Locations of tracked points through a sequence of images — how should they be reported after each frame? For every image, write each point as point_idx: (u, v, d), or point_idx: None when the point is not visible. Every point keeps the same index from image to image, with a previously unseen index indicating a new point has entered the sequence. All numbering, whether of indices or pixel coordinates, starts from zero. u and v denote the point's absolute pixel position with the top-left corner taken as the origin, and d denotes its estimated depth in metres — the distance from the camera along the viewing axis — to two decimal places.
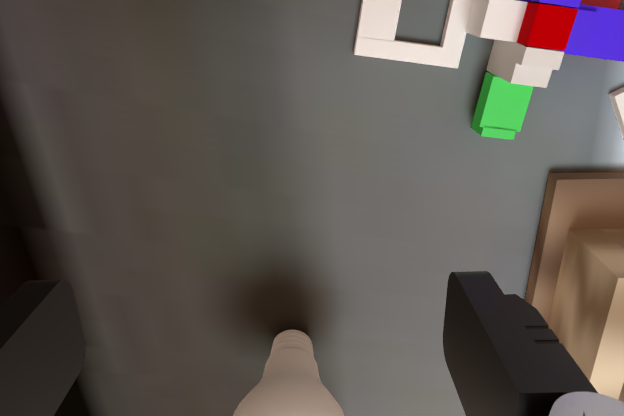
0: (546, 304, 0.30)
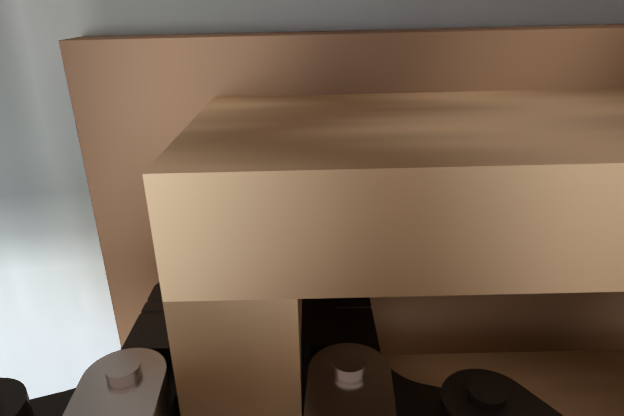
0: None
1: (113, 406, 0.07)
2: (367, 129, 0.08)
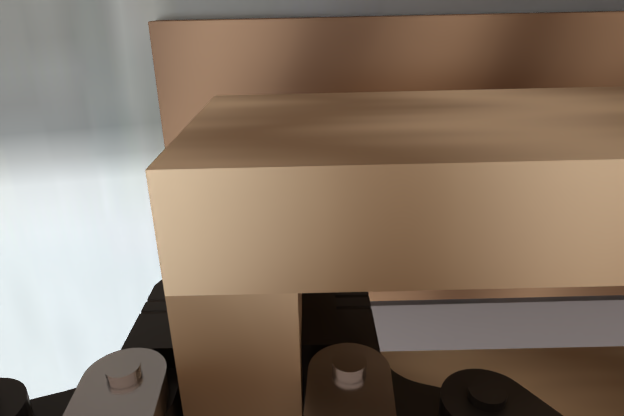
0: None
1: (113, 406, 0.07)
2: (366, 127, 0.08)
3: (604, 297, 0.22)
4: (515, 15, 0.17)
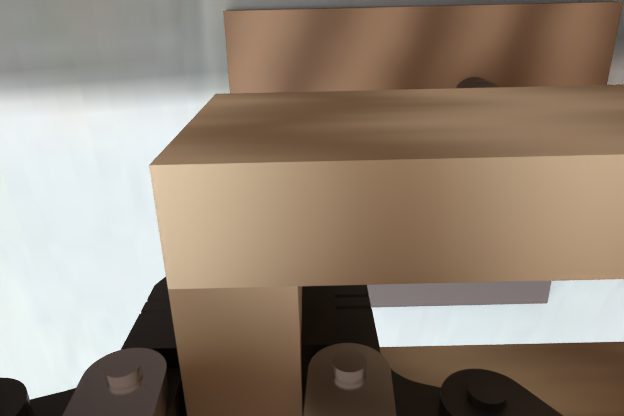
0: (487, 20, 0.31)
1: (113, 406, 0.07)
2: (365, 123, 0.08)
3: None
4: (425, 7, 0.30)
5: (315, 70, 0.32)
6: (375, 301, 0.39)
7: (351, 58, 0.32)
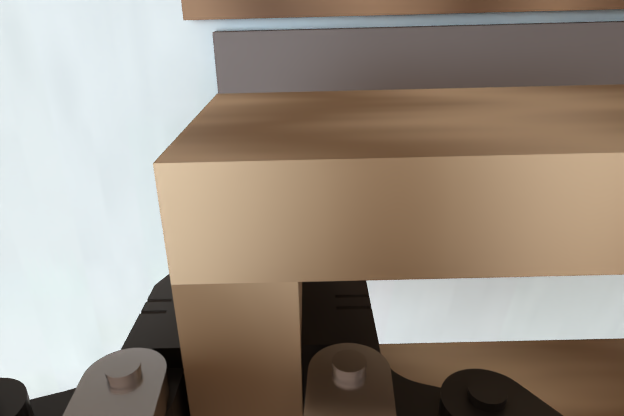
0: None
1: (112, 405, 0.07)
2: (363, 122, 0.08)
3: None
4: None
5: None
6: None
7: None
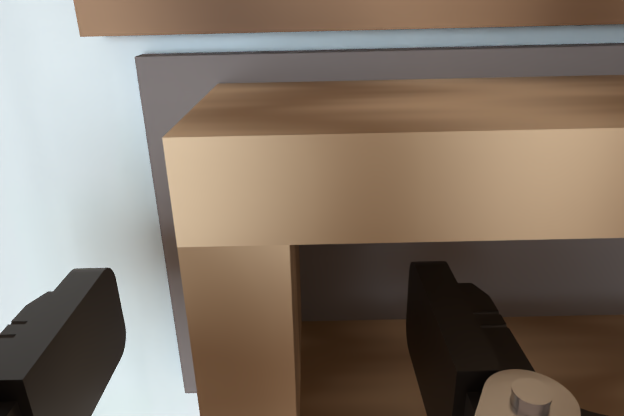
0: None
1: None
2: (349, 107, 0.09)
3: None
4: None
5: None
6: None
7: None
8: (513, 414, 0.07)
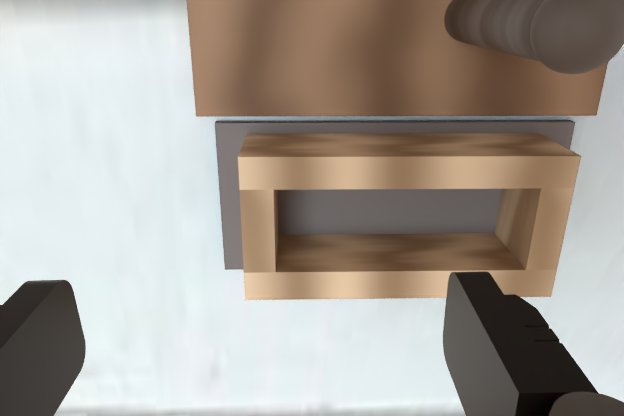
0: None
1: None
2: (294, 147, 0.28)
3: (489, 121, 0.31)
4: None
5: None
6: None
7: None
8: None
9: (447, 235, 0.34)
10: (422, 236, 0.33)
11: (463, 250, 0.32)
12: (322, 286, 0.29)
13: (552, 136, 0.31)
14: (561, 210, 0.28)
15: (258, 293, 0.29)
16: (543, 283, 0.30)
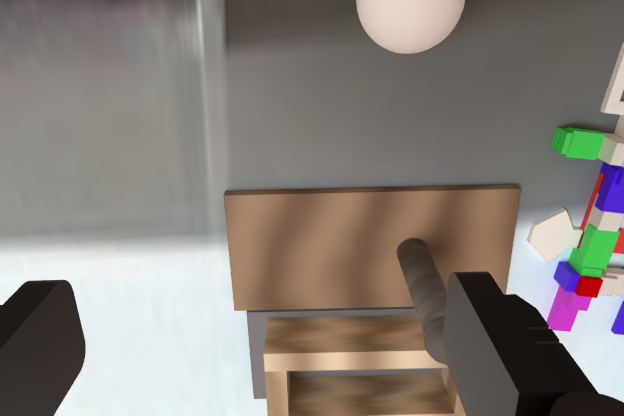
0: (420, 200, 0.41)
1: None
2: (299, 338, 0.43)
3: None
4: (373, 192, 0.41)
5: (292, 234, 0.42)
6: None
7: (319, 225, 0.42)
8: None
9: (407, 376, 0.48)
10: (389, 377, 0.48)
11: (416, 393, 0.46)
12: None
13: None
14: None
15: None
16: None
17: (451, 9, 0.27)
